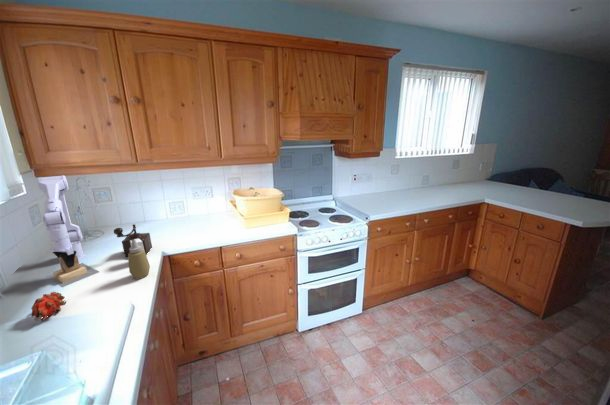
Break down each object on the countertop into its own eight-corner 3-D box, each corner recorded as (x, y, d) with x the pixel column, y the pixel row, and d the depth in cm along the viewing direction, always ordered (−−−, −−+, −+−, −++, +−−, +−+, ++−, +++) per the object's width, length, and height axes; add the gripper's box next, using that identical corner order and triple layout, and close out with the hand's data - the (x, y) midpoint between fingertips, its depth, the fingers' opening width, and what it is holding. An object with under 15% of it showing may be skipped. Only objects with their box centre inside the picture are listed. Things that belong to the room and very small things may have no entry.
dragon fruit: (65, 305, 103) (47, 331, 92) (38, 299, 99) (17, 325, 88) (74, 290, 101) (57, 313, 91) (48, 283, 97) (27, 307, 87)
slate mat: (46, 277, 120) (45, 276, 120) (82, 264, 132) (82, 262, 131) (62, 288, 111) (62, 287, 111) (100, 273, 123) (99, 271, 123)
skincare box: (147, 262, 132) (143, 241, 128) (137, 266, 129) (132, 243, 125) (143, 258, 136) (139, 237, 132) (134, 262, 133) (129, 240, 129)
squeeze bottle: (138, 271, 124) (130, 236, 119) (155, 271, 124) (148, 236, 119) (126, 280, 116) (118, 243, 111) (144, 280, 116) (136, 243, 111)
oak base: (54, 277, 118) (53, 272, 118) (78, 268, 126) (77, 263, 125) (63, 283, 114) (61, 277, 113) (87, 273, 122) (86, 267, 121)
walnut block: (61, 269, 118) (58, 257, 117) (75, 265, 123) (72, 253, 121) (66, 272, 116) (63, 260, 115) (79, 267, 120) (77, 255, 119)
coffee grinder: (131, 249, 147) (125, 219, 142) (152, 247, 149) (147, 217, 144) (118, 262, 132) (110, 229, 127) (142, 260, 135) (135, 227, 130)
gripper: (41, 238, 115) (50, 265, 119) (55, 244, 108) (64, 273, 112) (62, 232, 121) (69, 258, 124) (76, 238, 114) (83, 266, 118)
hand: (68, 265), depth 118 cm, fingers closed on walnut block, 5 cm apart
